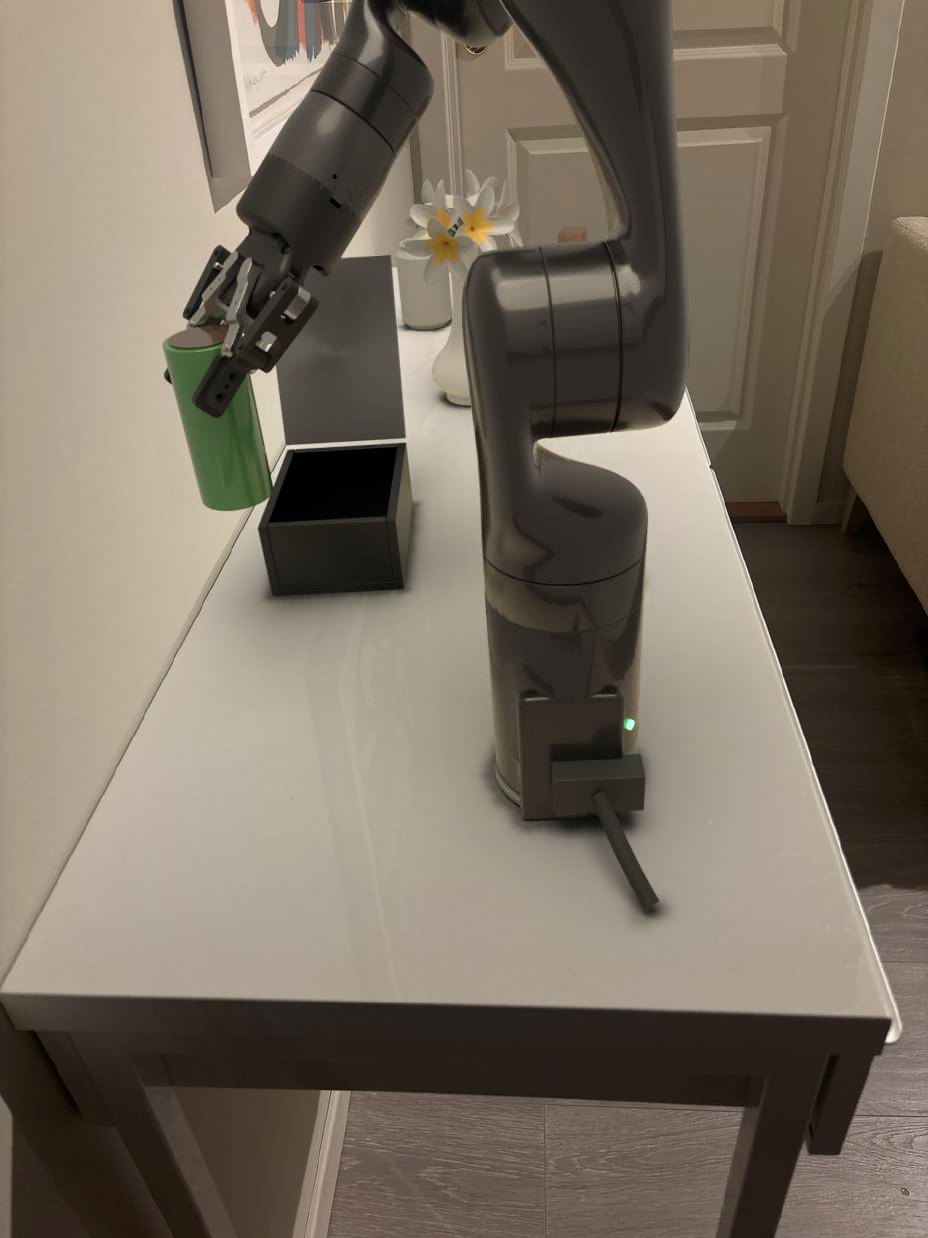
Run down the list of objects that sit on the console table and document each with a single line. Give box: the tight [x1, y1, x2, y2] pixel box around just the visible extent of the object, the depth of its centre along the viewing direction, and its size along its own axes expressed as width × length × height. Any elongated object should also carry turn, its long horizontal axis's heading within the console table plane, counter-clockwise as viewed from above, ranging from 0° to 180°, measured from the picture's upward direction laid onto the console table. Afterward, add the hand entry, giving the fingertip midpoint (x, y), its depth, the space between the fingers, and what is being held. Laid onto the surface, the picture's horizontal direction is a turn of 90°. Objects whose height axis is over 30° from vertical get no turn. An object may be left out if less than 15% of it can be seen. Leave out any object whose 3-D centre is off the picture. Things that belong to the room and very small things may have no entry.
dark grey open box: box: [257, 441, 414, 596], centre depth 88 cm, size 16×12×7 cm
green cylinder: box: [162, 324, 274, 512], centre depth 69 cm, size 5×5×12 cm
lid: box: [275, 253, 407, 446], centre depth 90 cm, size 16×12×1 cm
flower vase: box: [405, 168, 524, 407], centre depth 111 cm, size 13×18×25 cm
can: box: [395, 237, 453, 331], centre depth 141 cm, size 8×8×12 cm
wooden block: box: [557, 226, 588, 243], centre depth 155 cm, size 4×4×8 cm
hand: (190, 397), depth 67 cm, fingers closed on green cylinder, 5 cm apart
